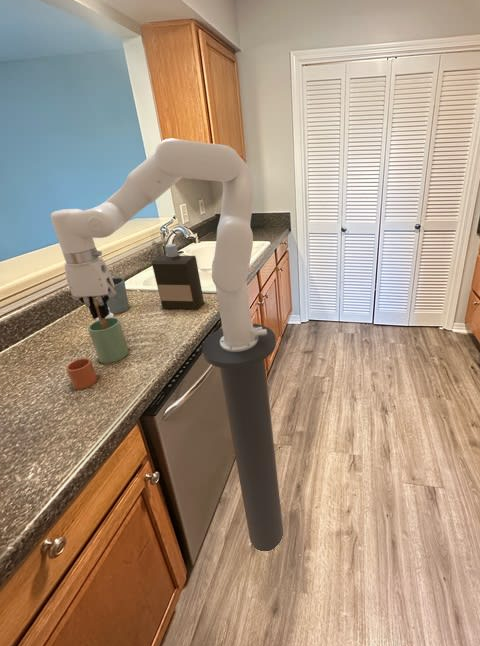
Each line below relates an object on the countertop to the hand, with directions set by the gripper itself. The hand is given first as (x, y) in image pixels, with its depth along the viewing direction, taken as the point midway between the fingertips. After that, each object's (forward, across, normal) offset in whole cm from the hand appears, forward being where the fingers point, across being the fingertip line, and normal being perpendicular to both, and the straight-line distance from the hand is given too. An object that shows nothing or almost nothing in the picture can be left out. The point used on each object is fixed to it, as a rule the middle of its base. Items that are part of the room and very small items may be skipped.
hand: (101, 316), depth 94 cm
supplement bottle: (+14, +7, -13) cm, 20 cm away
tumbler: (+14, 0, 0) cm, 14 cm away
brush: (+12, 0, 0) cm, 12 cm away
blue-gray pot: (+14, +14, -33) cm, 39 cm away
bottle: (+14, -12, -33) cm, 38 cm away
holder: (+14, +2, +12) cm, 19 cm away
